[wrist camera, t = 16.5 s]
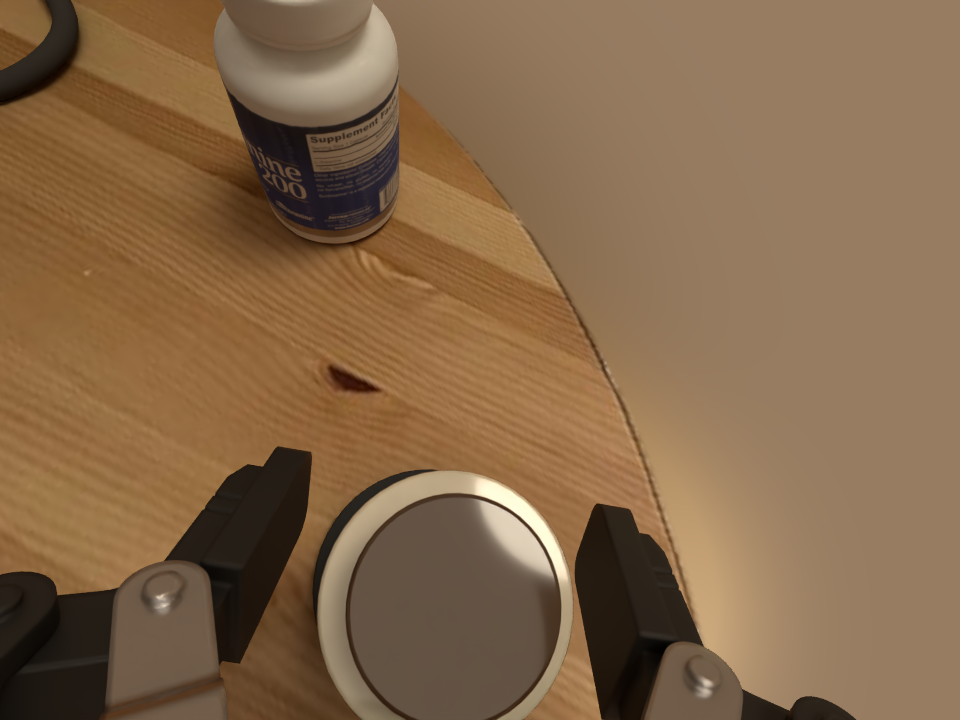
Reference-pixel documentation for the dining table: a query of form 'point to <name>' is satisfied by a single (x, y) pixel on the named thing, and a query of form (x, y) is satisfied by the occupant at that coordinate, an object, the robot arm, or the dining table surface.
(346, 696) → the cream bottle
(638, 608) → the robot arm
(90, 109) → the dining table surface
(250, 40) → the pill bottle
